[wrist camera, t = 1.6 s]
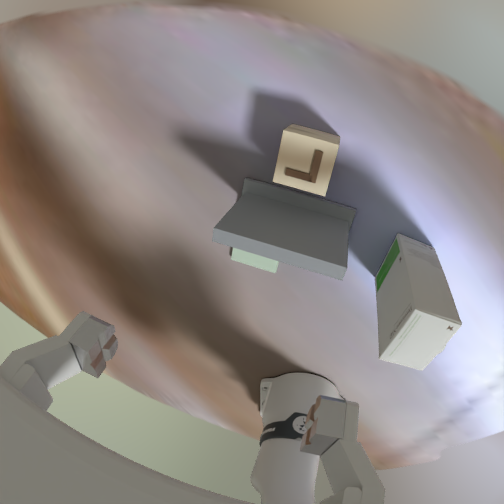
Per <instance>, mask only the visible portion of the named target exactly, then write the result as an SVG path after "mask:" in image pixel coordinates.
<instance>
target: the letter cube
mask: <svg viewBox="0 0 504 504" xmlns="http://www.w3.org/2000/svg"><path fill="white" fill-rule="evenodd" d="M339 143H340V136H337V135H333V134H330V133H326V132H323V131H319V130H315V129H311V128H308V127H304V126H300V125H296V124H291V125H290V126H288V127H287V128H286V129H284V130H283V135H282V139H281V144H280V149H279V154H278V158H277V163H276V168H275V173H274V177H273V182H275V183H279V184H283V185H286V186H290V187H294V188H297V189H301V190H304V191H308V192H311V193H315V194H318V195H321V196H325V195H326V192H327V188H328V184H329V181H330V177H331V174H332V170H333V166H334V163H335V159H336V155H337V152H338V148H339Z"/></svg>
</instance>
